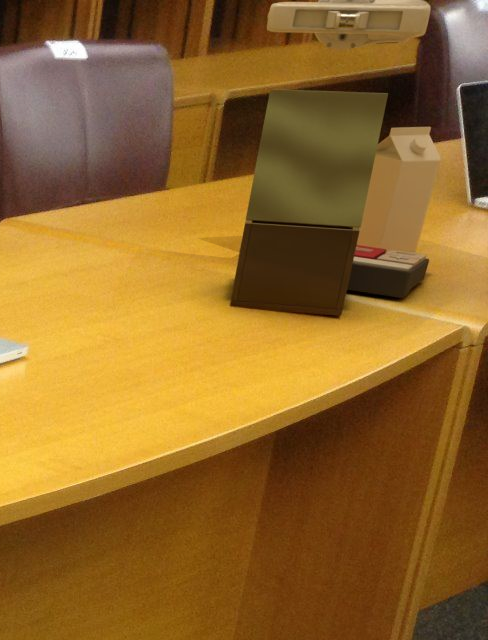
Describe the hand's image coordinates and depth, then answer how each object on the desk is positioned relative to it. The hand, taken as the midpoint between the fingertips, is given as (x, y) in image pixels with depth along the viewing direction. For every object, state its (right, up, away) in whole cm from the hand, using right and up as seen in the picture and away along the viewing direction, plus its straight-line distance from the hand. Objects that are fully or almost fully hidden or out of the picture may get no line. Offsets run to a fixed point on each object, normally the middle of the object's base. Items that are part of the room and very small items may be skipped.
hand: (347, 21), depth 205 cm
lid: (-10, -22, -11) cm, 26 cm away
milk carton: (+18, -25, +26) cm, 40 cm away
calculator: (+8, -33, +10) cm, 35 cm away
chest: (-8, -37, +1) cm, 38 cm away
